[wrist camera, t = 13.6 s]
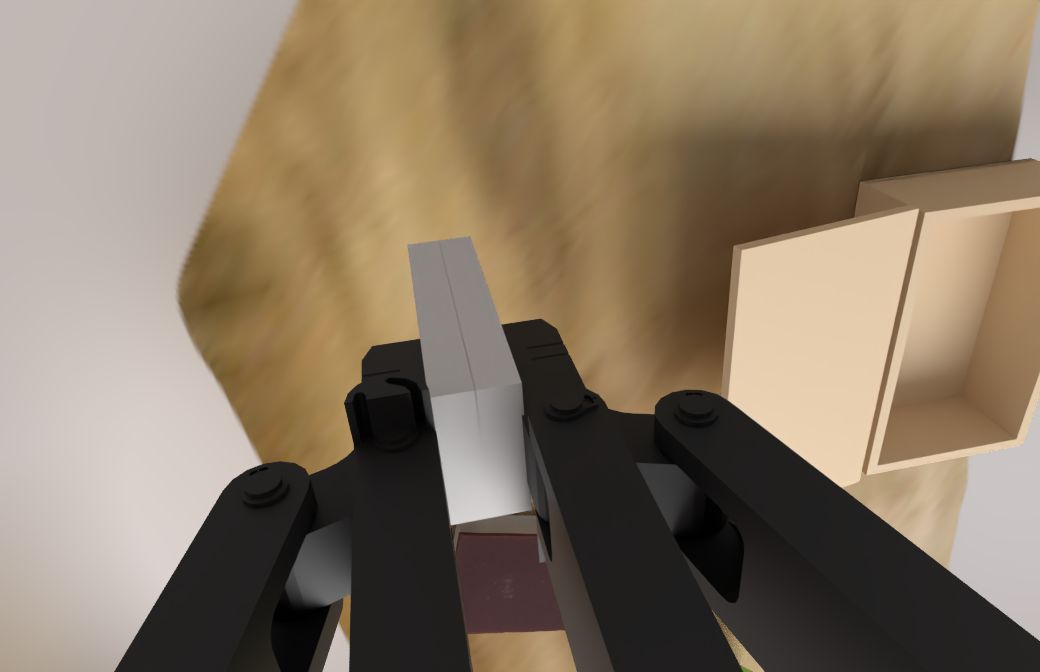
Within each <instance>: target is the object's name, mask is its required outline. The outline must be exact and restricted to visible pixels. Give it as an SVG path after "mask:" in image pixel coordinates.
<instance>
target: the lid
mask: <svg viewBox="0 0 1040 672" xmlns="http://www.w3.org/2000/svg"><path fill="white" fill-rule="evenodd" d="M918 212H919V208H916V207H914V206H911V205H907V206H902V207H898V208H894V209H889V210H885V211H881V212H876V213H872V214H868V215H864V216H859V217H855V218H851V219H846V220H842V221H838V222H834V223H829V224H825V225H821V226H816V227H812V228H808V229H804V230H799V231H795V232H791V233H786V234H782V235H778V236H773V237H769V238H765V239H761V240H756V241H752V242H748V243H743V244H739V245H735V246H734V247H733V259H732V270H731V282H730V294H729V305H728V317H727V329H726V340H725V352H724V364H723V375H722V387H721V397H723V398H725V399H726V400H728V401H730V402H731V403H732V404H734V405H735V406H736V407H738V408H739V409H740V410H741V411H743V412H744V413H745V414H747V415H748V416H749V417H750V418H752V419H753V420H754V421H756V422H757V423H758V424H759V425H761V426H762V427H763V428H765V429H766V430H767V431H769V432H770V433H771V434H772V435H774V436H775V437H776V438H778V439H779V440H780V441H781V442H783V443H784V444H785V445H787V446H788V447H789V448H791V449H792V450H793V451H794V452H796V453H797V454H798V455H800V456H801V457H802V458H803V459H805V460H806V461H807V462H809V463H810V464H811V465H813V466H814V467H815V468H816V469H818V470H819V471H820V472H822V473H823V474H824V475H825V476H827V477H828V478H829V479H831V480H832V481H833V482H835V483H836V484H837V485H838V486H840V487H841V488H842V487H845V486H848V485H851V484H853V483H856V482H859V481H860V476H861V472H862V467H863V463H864V458H865V454H866V449H867V444H868V440H869V435H870V431H871V426H872V422H873V417H874V413H875V408H876V403H877V399H878V394H879V390H880V385H881V381H882V376H883V371H884V367H885V362H886V358H887V353H888V349H889V344H890V340H891V335H892V330H893V326H894V321H895V317H896V312H897V308H898V303H899V298H900V294H901V289H902V285H903V280H904V276H905V271H906V267H907V262H908V257H909V253H910V248H911V244H912V239H913V235H914V230H915V226H916V221H917V216H918Z"/></svg>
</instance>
